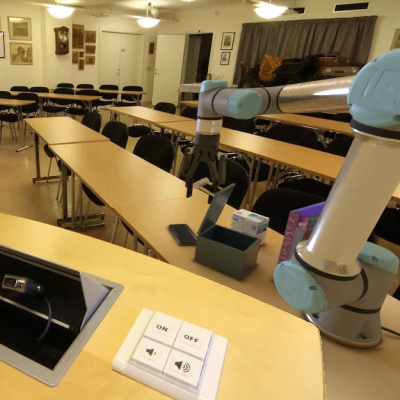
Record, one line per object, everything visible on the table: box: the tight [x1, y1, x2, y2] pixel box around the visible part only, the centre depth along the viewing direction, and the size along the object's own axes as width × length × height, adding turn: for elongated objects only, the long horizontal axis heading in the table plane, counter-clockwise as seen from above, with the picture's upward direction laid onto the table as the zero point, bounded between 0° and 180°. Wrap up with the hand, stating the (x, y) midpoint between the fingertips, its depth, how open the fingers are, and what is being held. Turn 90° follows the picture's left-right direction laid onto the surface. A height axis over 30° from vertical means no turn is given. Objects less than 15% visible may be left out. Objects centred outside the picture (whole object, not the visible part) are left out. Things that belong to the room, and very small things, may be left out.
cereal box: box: [272, 200, 326, 282], centre depth 95 cm, size 17×5×24 cm, turn 114°
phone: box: [168, 223, 197, 246], centre depth 127 cm, size 8×1×15 cm
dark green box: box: [193, 223, 261, 281], centre depth 107 cm, size 16×13×10 cm
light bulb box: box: [229, 208, 270, 246], centre depth 120 cm, size 11×7×11 cm, turn 32°
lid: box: [193, 177, 236, 236], centre depth 108 cm, size 16×13×10 cm
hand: (199, 199), depth 109 cm, fingers open, 7 cm apart
